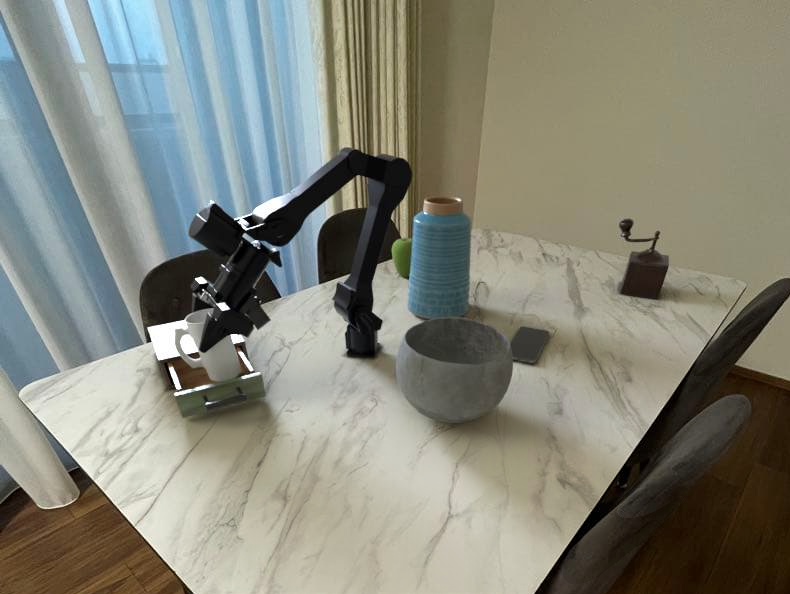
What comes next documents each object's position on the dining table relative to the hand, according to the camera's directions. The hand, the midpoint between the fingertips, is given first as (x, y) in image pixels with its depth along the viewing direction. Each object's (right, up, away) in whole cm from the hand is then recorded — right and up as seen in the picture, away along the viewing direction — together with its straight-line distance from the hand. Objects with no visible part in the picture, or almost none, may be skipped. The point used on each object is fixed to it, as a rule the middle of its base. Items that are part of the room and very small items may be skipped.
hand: (196, 344), depth 86 cm
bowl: (+47, -12, +3) cm, 48 cm away
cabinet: (-6, 0, +17) cm, 18 cm away
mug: (+2, -5, +5) cm, 8 cm away
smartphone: (+67, +4, +24) cm, 71 cm away
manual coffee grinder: (+105, +27, +53) cm, 120 cm away
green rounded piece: (+38, +34, +60) cm, 79 cm away
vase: (+47, +17, +40) cm, 64 cm away
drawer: (+2, -8, +6) cm, 10 cm away
